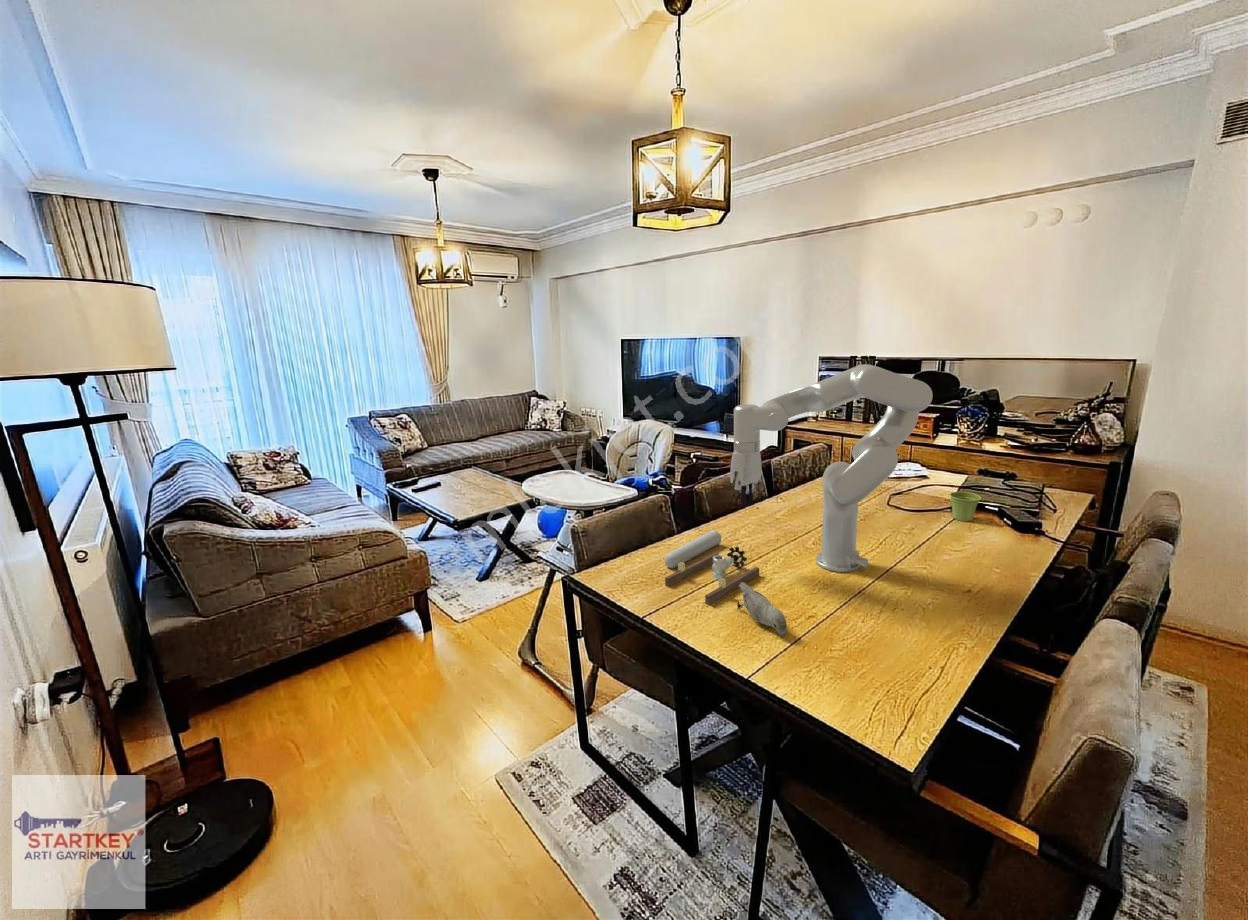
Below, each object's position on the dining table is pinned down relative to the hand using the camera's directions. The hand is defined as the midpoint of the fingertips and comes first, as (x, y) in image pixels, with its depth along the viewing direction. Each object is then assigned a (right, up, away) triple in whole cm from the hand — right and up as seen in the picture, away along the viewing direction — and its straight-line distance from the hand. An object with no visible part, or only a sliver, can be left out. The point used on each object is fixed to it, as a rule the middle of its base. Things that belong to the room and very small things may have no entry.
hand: (746, 504), depth 157 cm
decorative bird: (-3, -27, -28) cm, 39 cm away
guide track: (-12, -22, -6) cm, 25 cm away
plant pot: (+84, -8, +27) cm, 89 cm away
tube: (-15, -18, +11) cm, 26 cm away
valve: (-6, -21, -2) cm, 22 cm away
